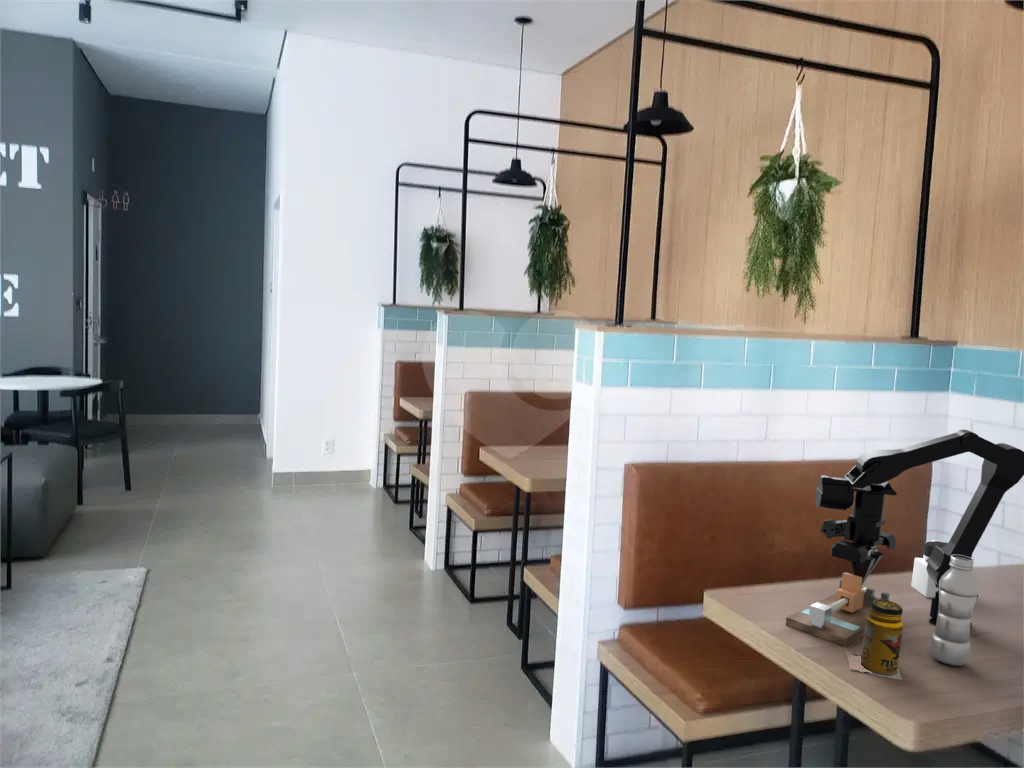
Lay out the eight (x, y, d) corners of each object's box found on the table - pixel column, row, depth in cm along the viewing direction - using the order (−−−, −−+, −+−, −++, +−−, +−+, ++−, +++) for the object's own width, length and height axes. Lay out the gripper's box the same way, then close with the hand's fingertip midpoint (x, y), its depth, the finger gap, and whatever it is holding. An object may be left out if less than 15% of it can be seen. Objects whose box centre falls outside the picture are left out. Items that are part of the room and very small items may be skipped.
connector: (829, 626, 156) (831, 607, 155) (822, 630, 154) (824, 610, 153) (814, 621, 158) (817, 602, 157) (807, 625, 156) (810, 605, 155)
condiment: (902, 680, 138) (910, 614, 137) (849, 670, 141) (857, 606, 139) (895, 662, 145) (903, 599, 144) (845, 653, 147) (853, 591, 146)
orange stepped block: (862, 606, 165) (866, 575, 164) (852, 612, 162) (856, 580, 161) (845, 601, 168) (849, 570, 167) (835, 606, 164) (838, 575, 164)
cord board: (892, 617, 166) (893, 610, 166) (844, 646, 150) (845, 638, 150) (836, 599, 175) (837, 592, 175) (785, 624, 159) (786, 616, 159)
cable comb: (887, 609, 167) (889, 593, 166) (885, 610, 166) (887, 594, 165) (840, 594, 174) (842, 579, 173) (838, 595, 173) (840, 580, 172)
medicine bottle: (957, 600, 179) (964, 548, 178) (925, 598, 179) (932, 546, 178) (940, 588, 186) (947, 539, 185) (910, 586, 186) (916, 536, 185)
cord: (868, 593, 170) (869, 588, 170) (826, 615, 156) (826, 609, 156) (862, 592, 171) (863, 586, 170) (820, 613, 157) (820, 607, 157)
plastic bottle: (958, 655, 150) (972, 553, 147) (975, 672, 143) (990, 565, 141) (922, 651, 150) (935, 550, 148) (937, 668, 144) (952, 562, 141)
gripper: (849, 498, 178) (841, 565, 179) (810, 509, 165) (801, 581, 167) (900, 510, 170) (891, 580, 171) (863, 523, 157) (854, 599, 159)
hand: (859, 584), depth 167 cm, fingers closed
